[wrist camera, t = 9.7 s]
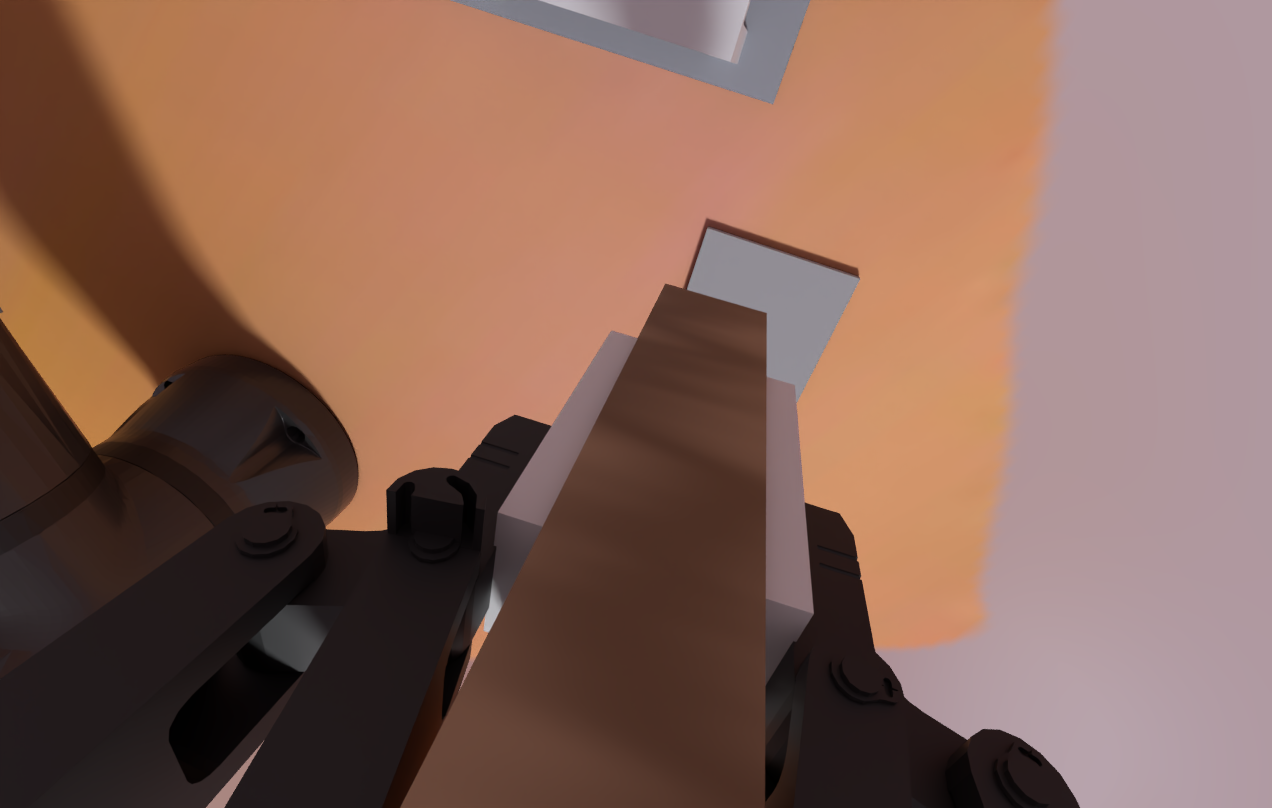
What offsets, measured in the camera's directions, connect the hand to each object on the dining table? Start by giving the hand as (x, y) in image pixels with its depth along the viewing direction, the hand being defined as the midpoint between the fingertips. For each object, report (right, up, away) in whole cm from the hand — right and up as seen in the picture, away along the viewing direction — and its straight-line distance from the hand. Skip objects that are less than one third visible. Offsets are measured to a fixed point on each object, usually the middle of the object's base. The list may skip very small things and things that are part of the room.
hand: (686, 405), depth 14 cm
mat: (+5, +5, +17) cm, 18 cm away
